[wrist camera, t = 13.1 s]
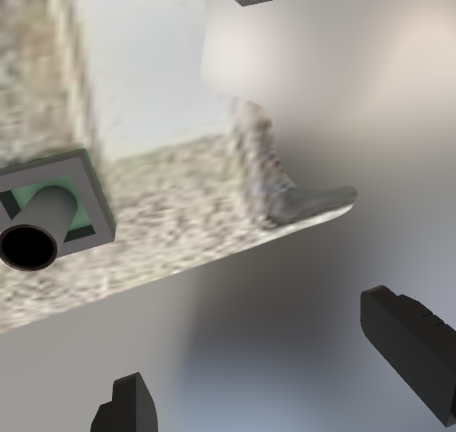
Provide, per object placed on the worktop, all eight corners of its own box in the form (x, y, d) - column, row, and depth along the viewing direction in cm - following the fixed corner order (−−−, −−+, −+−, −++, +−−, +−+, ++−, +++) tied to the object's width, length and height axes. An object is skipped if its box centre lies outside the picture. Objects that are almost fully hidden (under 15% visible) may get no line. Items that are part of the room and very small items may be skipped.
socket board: (-12, 172, 33) (-29, 183, 29) (84, 148, 35) (79, 156, 31) (32, 250, 37) (21, 268, 34) (116, 226, 39) (114, 241, 35)
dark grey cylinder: (58, 177, 34) (30, 214, 25) (86, 209, 36) (69, 253, 27) (22, 199, 34) (-19, 244, 25) (53, 229, 36) (25, 281, 27)
